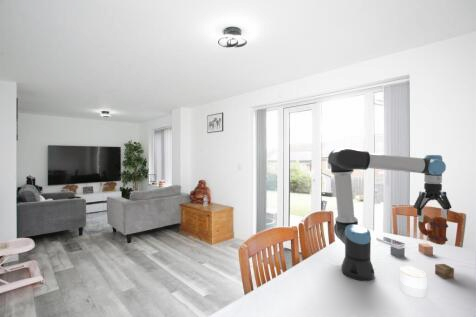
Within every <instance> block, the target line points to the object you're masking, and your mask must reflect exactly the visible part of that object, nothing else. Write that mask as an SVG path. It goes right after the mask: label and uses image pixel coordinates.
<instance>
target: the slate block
mask: <svg viewBox="0 0 476 317" xmlns="http://www.w3.org/2000/svg"><path fill="white" fill-rule="evenodd" d="M405 250H406V249H405V247H403V246H400V245H397V244H394V245H390V255H392V256H394V257H397V258H401V257H402V258H403V257H405V252H406V251H405Z"/></svg>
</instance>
